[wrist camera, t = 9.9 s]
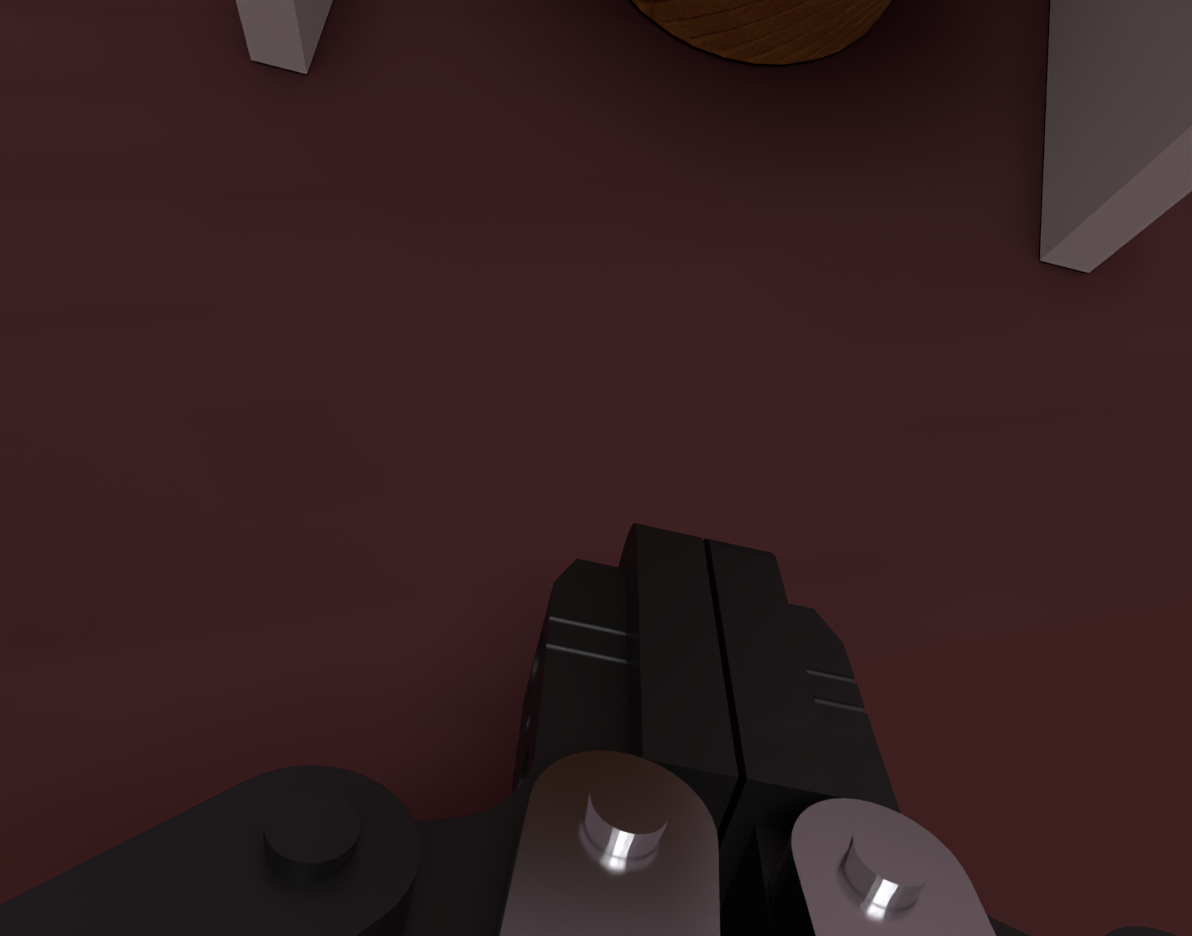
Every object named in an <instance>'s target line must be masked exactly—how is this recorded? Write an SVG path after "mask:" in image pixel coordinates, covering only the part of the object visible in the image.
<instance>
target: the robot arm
mask: <svg viewBox="0 0 1192 936" xmlns="http://www.w3.org/2000/svg"><path fill="white" fill-rule="evenodd" d="M854 678H855V677H854V674H853V671H852V668H851V665H850V662H849V659H848V656H847V653H846V651H845V648H844V645H843V642H842V641H841V640H840V639H839V638H838V637H837V635H836V634H835V633H834V632H833V631H832V630H831V628H830V627H829V626H828V625H827V624H826V623H825V621H824V620H823V619H822V618H821V617H820V616H819V615H818V613H817V612H816V611H815V610H814V609H811V608H807V607H802V606H797V605H793V604H788V600H787V597H786V593H785V589H784V585H783V582H782V578H781V574H780V571H779V567H778V563H777V560H776V557H775V555H774V554H773V553H770V552H766V551H761V550H756V549H752V548H747V547H743V546H738V545H734V544H729V543H724V542H720V541H715V540H711V539H704V540H702V538H700V537H696V536H691V535H687V534H682V533H677V532H673V531H668V530H664V529H659V528H654V527H650V526H645V525H641V524H636V523H634V524H633V525H632V527H631V529H630V531H629V533H628V536H627V539H626V542H625V545H624V549H623V552H622V556H621V559H620V563H619V566H618V567H614V566H609V565H604V564H600V563H595V562H590V561H586V560H581V559H576V560H575V561H574V562H573V563H572V564H571V565H570V566H569V567H568V568H567V569H566V570H565V571H564V572H563V573H562V574H561V575H560V576H559V577H558V578H557V579H556V580H555V581H554V584H553V588H552V592H551V596H550V599H549V603H548V607H547V611H546V615H545V619H544V623H543V627H542V631H541V635H540V639H539V643H538V646H537V650H536V654H535V658H534V662H533V666H532V670H531V674H530V678H529V682H528V686H527V690H526V693H525V697H524V704H523V711H522V718H521V726H520V733H519V735H520V736H519V741H518V748H517V755H516V763H515V765H516V766H515V771H514V777H513V785H512V792H511V795H510V796H509V797H508V798H506V799H505V800H503V801H502V802H500V803H498V804H497V805H495V806H493V807H491V808H488V809H486V810H484V811H481V812H478V813H475V814H471V815H467V816H464V817H457V818H450V819H440V820H428V821H416V822H414V820H413V818H412V817H411V815H410V813H409V812H408V810H407V809H406V807H405V806H404V805H403V804H402V802H401V801H400V800H399V799H398V798H397V797H396V796H395V795H394V794H393V793H391V792H390V791H389V790H388V789H386V788H385V787H384V786H382V785H381V784H379V783H377V782H375V781H373V780H372V779H370V778H368V777H366V776H363V775H360V774H358V773H355V772H352V771H348V770H344V769H340V768H336V767H327V766H317V765H315V766H294V767H287V768H281V769H277V770H273V771H270V772H266V773H263V774H260V775H258V776H256V777H253V778H251V779H248V780H246V781H244V782H242V783H240V784H238V785H236V786H234V787H232V788H230V789H228V790H226V791H224V792H222V793H220V794H218V795H216V796H214V797H212V798H211V799H209V800H207V801H205V802H203V803H201V804H199V805H197V806H195V807H193V808H191V809H189V810H187V811H185V812H183V813H181V814H179V815H177V816H175V817H173V818H171V819H169V820H167V821H165V822H163V823H161V824H159V825H157V826H155V827H153V828H151V829H149V830H147V831H145V832H143V833H141V834H139V835H137V836H135V837H133V838H131V839H129V840H127V841H125V842H123V843H121V844H120V845H118V846H116V847H114V848H112V849H110V850H108V851H106V852H104V853H102V854H100V855H98V856H96V857H94V858H92V859H90V860H88V861H86V862H84V863H82V864H80V865H78V866H76V867H74V868H72V869H70V870H68V871H66V872H64V873H62V874H60V875H58V876H56V877H54V878H52V879H50V880H48V881H46V882H44V883H42V884H40V885H38V886H36V887H34V888H32V889H31V890H29V891H27V892H25V893H23V894H21V895H19V896H17V897H15V898H13V899H11V900H9V901H7V902H5V903H3V904H1V905H0V936H1029V935H1027V934H1025V933H1023V932H1020V931H1018V930H1016V929H1014V928H1012V927H1010V926H1007V925H1005V924H1003V923H1001V922H999V921H998V920H996V919H994V918H992V917H990V916H988V915H986V913H985V911H984V909H983V907H982V904H981V902H980V900H979V898H978V896H977V894H976V892H975V890H974V887H973V885H972V883H971V881H970V879H969V878H968V876H967V874H966V872H965V870H964V869H963V867H962V866H961V865H960V863H959V862H958V861H957V859H956V858H955V857H954V855H953V854H952V853H951V852H950V851H949V850H948V849H947V848H946V847H945V846H944V845H943V843H941V842H940V841H939V840H938V839H937V838H936V837H935V836H933V835H932V834H931V833H930V832H929V831H927V830H926V829H924V828H923V827H922V826H920V825H919V824H917V823H916V822H914V821H913V820H911V819H909V818H907V817H906V816H904V815H902V814H901V813H900V810H899V807H898V804H897V801H896V798H895V795H894V792H893V789H892V787H891V784H890V781H889V778H888V775H887V772H886V769H885V766H884V763H883V760H882V757H881V754H880V751H879V748H878V745H877V742H876V739H875V736H874V733H873V730H872V727H871V724H870V721H869V719H868V716H867V714H864V713H863V710H864V704H863V701H862V698H861V695H860V692H859V689H858V686H857V684H854ZM1105 936H1176V935H1174V934H1171V933H1168V932H1164V931H1161V930H1158V929H1154V928H1147V927H1140V926H1133V927H1123V928H1119V929H1115V930H1113V931H1112V932H1110V933H1108V934H1106V935H1105Z"/></svg>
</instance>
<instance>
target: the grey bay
mask: <svg viewBox="0 0 1192 936" xmlns="http://www.w3.org/2000/svg"><path fill="white" fill-rule="evenodd" d="M332 2H333V0H236V3H237V7H238V11H239V15H240V19H241V23H242V26H243V30H244V34H245V38H246V42H247V46H248V50H249V54H250V58H251V60H253V61H257V62H261V63H265V64H269V65H273V66H277V67H281V68H285V69H289V70H292V71H296V72H300V73H304V74H307V73H308V70H309V67H310V64H311V61H312V58H313V56H314V53H315V50H316V47H317V44H318V41H319V39H320V36H321V33H322V30H323V27H324V24H325V21H326V19H327V16H328V13H329V10H330V7H331V4H332ZM1190 191H1192V0H1050V24H1049V49H1048V73H1047V98H1046V122H1045V147H1044V171H1043V196H1042V220H1041V245H1040V261H1044V262H1048V263H1052V264H1056V265H1059V266H1063V267H1067V268H1071V269H1075V270H1079V271H1083V272H1087V273H1089V272H1091V271H1092V270H1093V269H1094V268H1096V267H1097V266H1098V265H1099V264H1101V263H1102V262H1103V261H1104V260H1106V259H1107V258H1108V257H1109V256H1111V255H1112V254H1113V253H1114V252H1116V251H1117V250H1118V249H1119V248H1121V247H1122V246H1123V245H1124V244H1126V243H1127V242H1128V241H1129V240H1131V239H1132V238H1133V237H1134V236H1136V235H1137V234H1138V233H1139V232H1141V231H1142V230H1143V229H1144V228H1146V227H1147V226H1148V225H1149V224H1151V223H1152V222H1153V221H1154V220H1156V219H1157V218H1158V217H1159V216H1161V215H1162V214H1163V213H1164V212H1166V211H1167V210H1168V209H1169V208H1171V207H1172V206H1173V205H1174V204H1175V203H1177V202H1178V201H1179V200H1180V199H1182V198H1183V197H1184V196H1185V195H1187V194H1188V193H1189V192H1190Z"/></svg>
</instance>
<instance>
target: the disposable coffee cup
mask: <svg viewBox="0 0 1192 936" xmlns="http://www.w3.org/2000/svg"><path fill="white" fill-rule="evenodd" d="M632 1H633V2H634V3H635V5H636V6H637V7H638V8H639V9H640V10H641V11H642V12H643V13H644V14H646V15H647V16H648V17H650V18H651V19H652V20H654V21H655V22H656V23H658V24H659V25H660V26H662V27H663V28H664V29H666V30H667V31H668V32H670V33H671V34H673V35H674V36H676V37H678V38H680V39H682V40H683V41H685V42H687V43H689V44H691V45H692V46H695V47H697V48H700V49H703V50H705V51H708V52H711V53H713V54H716V55H719V56H722V57H725V58H730V59H735V60H740V61H745V62H750V63H756V64H791V63H797V62H802V61H808V60H814V59H819V58H822V57H825V56H828V55H830V54H833V53H836V52H839V51H840V50H842V49H843V48H845V47H846V46H848V45H849V44H851V43H852V42H854V41H855V40H857V39H859V38H860V37H862V36H863V35H864V34H865V33H866V32H867V31H868V30H869V29H870V28H871V26H872V25H873V24H874V23H875V22H876V21H877V20H878V19H879V18H880V16H881V14H882V13H883V12H884V10H885V9H886V8H887V6H888V5H889V4H890V2H891V1H892V0H632Z"/></svg>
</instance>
